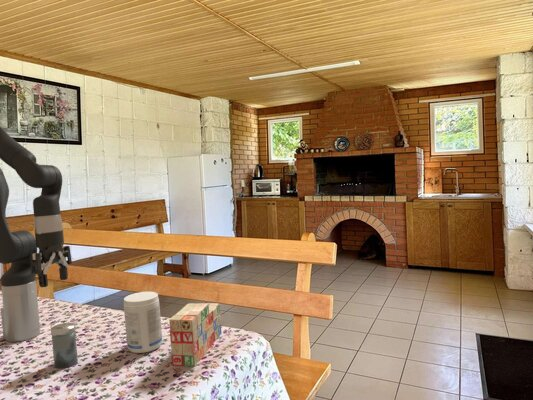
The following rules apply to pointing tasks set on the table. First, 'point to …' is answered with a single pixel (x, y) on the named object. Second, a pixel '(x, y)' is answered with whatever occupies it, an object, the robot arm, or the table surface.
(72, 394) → the table surface
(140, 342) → the supplement tub
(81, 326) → the table surface
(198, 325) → the stack of blocks
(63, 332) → the tea tin
